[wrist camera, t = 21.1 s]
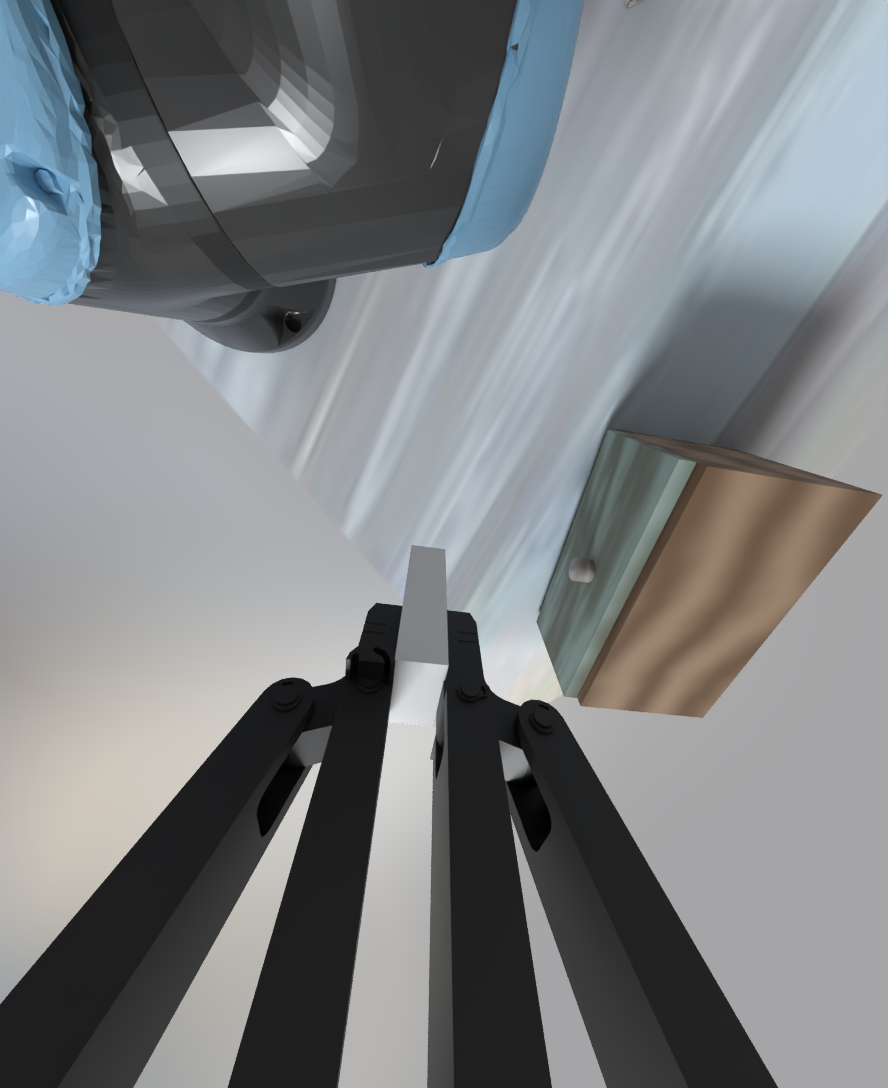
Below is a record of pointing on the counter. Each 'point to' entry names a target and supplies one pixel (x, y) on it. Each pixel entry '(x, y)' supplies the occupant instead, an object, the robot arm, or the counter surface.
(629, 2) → the coffee box
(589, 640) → the drawer
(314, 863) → the robot arm
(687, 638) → the cabinet
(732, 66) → the counter surface
